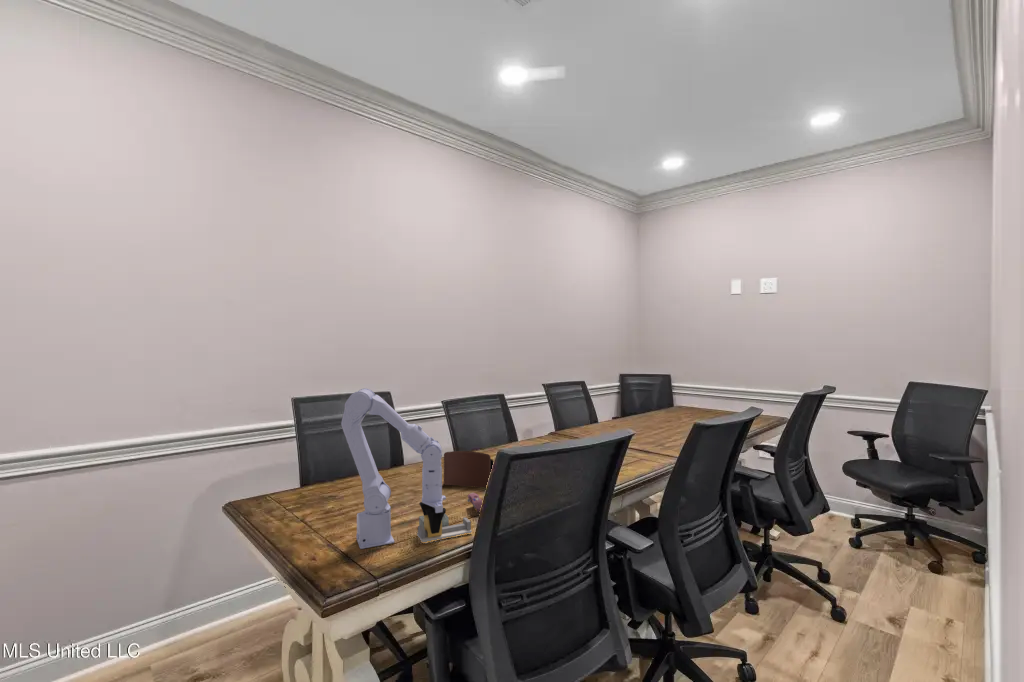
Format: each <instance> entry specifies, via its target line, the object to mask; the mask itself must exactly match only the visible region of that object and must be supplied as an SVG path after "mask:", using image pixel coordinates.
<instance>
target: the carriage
mask: <svg viewBox="0 0 1024 682" xmlns="http://www.w3.org/2000/svg"><path fill="white" fill-rule="evenodd" d="M423 516H424V530H426V531H427V532H428V537H434V536H439V535H442V521H441V525H440V530H439V533H435V534H432V533H431V529H430V523H429V518H428V515H424V514H423Z"/></svg>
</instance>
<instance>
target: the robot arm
mask: <svg viewBox="0 0 1024 682" xmlns="http://www.w3.org/2000/svg"><path fill="white" fill-rule="evenodd" d="M367 413H368V415H373V416H375V415H376V416H380V417H381V418H383V420H385V421H386V422H388V423H389V424H390V425H391V426H392V427H394V428H395V429H396V430H397V431H398V432H400V435H401V436H400V437H401V440H402V441H403V442H405V444H407V446H409V447H410V448H411V449H412V450H413V451H415V452H416V453H417V454H420V458H421V460H422V468H421V471H422V473H421V474H422V475H421V478H422V479H421V480H422V481H421V487H422V494H421V495H422V496H421V501H420V502H419V506H420V507H421V511H422V514H423V516H424V515H428V518H429V523H430V529H431V533H432V534H435V533H439V530H440V525H441V521H442V518H443V516H444V514H446V513H445V512H447V510H446V509H447V508H445V507H444V505H443V501H445V500H447V497H446V496H445V495H443V467H442V456H443V453H442V452H443V449H442V446H441V444H440V442H439V441H438V440H435V438H434V437H432V436H431V437H430V435H428V433H426V432H425V431H424V430H423V427H422V426H421V425H420V424H418V425H417V424H416V423H408V421H406V420H405V419H404V418H403V417H402V416H401V415H400V414H399V413H398V412H397V411H396V410H395V409H394V408H393V407H392V406H391V405H390V404H388V403H387V401H386V400H385V399H383V398H382V397H381V396H380V395H379V394H375V392H374V391H373V390H371V389H370V388H367V387H366V388H361V389H359V390H358V391H355V392H353V393H351V394H350V395H349V397H348V398H347V399H346V401H345V403H344V409H343V414H342V418H341V422H340V425H341V428H342V431H343V434H344V436H345V440H346V443H347V444H348V448H349V450H350V453H351V456H352V458H353V461H354V465H355V467H356V469H357V472H358V475H359V477H360V480H361V482H362V483H361V484H362V487H361V488H362V493H363V497H364V498H363V507H364V510H363V511H360V512H357V514H356V541H357V544H358V547H359V549H360V550H364V549H368V548H373V547H378V546H384V545H385V546H386V545H389V544H394V543H395V539H394V538H393V535H392V530H391V529H392V526H391V525H392V522H391V521H392V519H391V518H392V514H391V512H392V510H391V505H390V503H389V499H390V497H391V494H392V491H391V487H390V486H389V485H388V484H387V483H386V482H385V480H384V478H383V477H382V475H381V474H380V473H379V471H378V468H377V465H376V462H375V459H374V457H373V454H372V451H371V448H370V446H369V444H368V440H367V438H366V435H365V432H364V429H363V427H362V422H363V420H364V418H365V416H366V414H367Z"/></svg>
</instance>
